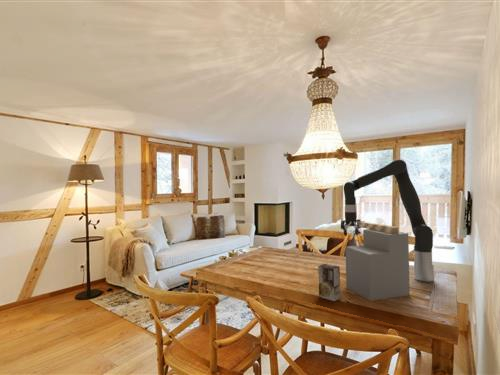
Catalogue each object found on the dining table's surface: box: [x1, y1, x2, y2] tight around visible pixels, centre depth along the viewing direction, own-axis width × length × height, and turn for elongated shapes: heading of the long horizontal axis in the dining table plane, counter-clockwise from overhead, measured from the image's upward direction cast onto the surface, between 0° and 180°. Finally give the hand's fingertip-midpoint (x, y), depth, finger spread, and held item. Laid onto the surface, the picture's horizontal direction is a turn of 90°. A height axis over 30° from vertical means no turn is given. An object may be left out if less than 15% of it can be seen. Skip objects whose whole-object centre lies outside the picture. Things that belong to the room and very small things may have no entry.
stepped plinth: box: [345, 228, 411, 302], centre depth 151 cm, size 20×24×32 cm
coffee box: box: [317, 263, 341, 302], centre depth 143 cm, size 9×6×16 cm
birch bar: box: [358, 220, 399, 234], centre depth 158 cm, size 28×3×3 cm, turn 16°
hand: (351, 235), depth 188 cm, fingers open, 8 cm apart
